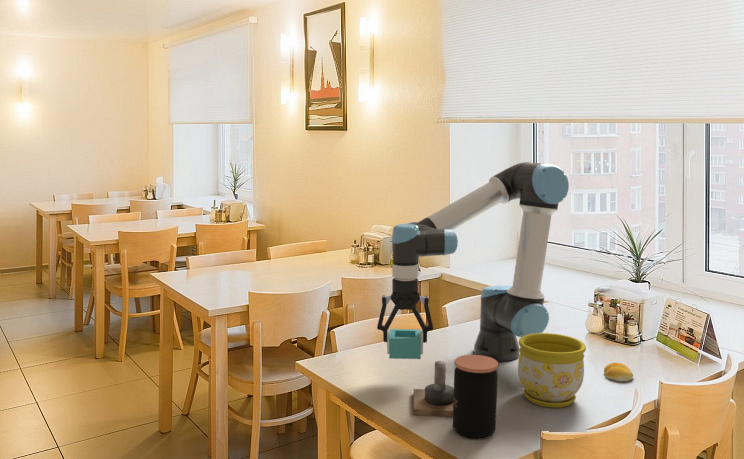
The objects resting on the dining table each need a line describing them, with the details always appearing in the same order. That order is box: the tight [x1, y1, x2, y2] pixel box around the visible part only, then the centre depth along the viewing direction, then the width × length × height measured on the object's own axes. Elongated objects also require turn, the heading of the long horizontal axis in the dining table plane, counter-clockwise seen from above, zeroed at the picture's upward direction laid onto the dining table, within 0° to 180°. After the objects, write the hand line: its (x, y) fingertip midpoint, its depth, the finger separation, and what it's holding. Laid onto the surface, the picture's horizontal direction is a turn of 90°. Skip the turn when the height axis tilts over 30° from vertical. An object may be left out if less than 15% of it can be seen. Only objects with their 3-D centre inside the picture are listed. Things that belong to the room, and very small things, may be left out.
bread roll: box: [603, 362, 634, 383], centre depth 203 cm, size 8×9×4 cm
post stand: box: [412, 360, 454, 417], centre depth 179 cm, size 14×14×12 cm
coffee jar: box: [452, 354, 499, 440], centre depth 164 cm, size 11×11×18 cm
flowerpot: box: [517, 332, 587, 409], centre depth 184 cm, size 18×18×16 cm
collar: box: [388, 328, 422, 360], centre depth 194 cm, size 9×9×6 cm
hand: (405, 352), depth 194 cm, fingers closed on collar, 9 cm apart
